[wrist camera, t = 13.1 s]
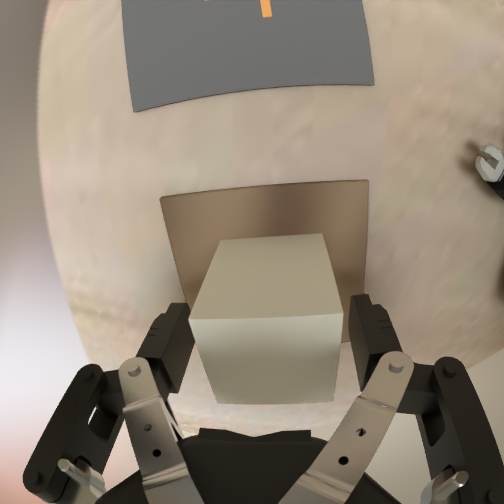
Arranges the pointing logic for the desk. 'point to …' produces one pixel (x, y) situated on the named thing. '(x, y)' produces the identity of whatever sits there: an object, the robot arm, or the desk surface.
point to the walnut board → (272, 227)
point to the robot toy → (492, 168)
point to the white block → (269, 321)
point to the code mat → (241, 46)
